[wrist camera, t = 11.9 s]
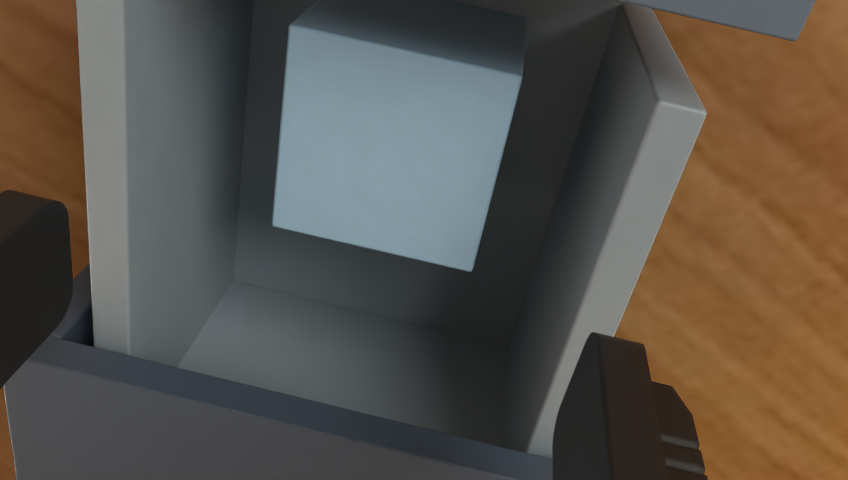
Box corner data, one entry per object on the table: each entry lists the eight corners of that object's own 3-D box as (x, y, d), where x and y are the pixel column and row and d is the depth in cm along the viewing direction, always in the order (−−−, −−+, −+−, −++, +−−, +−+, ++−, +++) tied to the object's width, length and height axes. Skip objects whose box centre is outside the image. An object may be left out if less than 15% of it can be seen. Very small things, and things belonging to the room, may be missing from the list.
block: (322, 146, 20) (270, 227, 16) (342, -24, 17) (287, 23, 14) (485, 183, 20) (471, 273, 16) (527, 17, 17) (523, 76, 14)
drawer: (229, -474, 14) (-38, -709, 8) (806, -346, 14) (1036, -478, 8) (199, 270, 24) (64, 453, 17) (549, 355, 23) (552, 574, 17)
